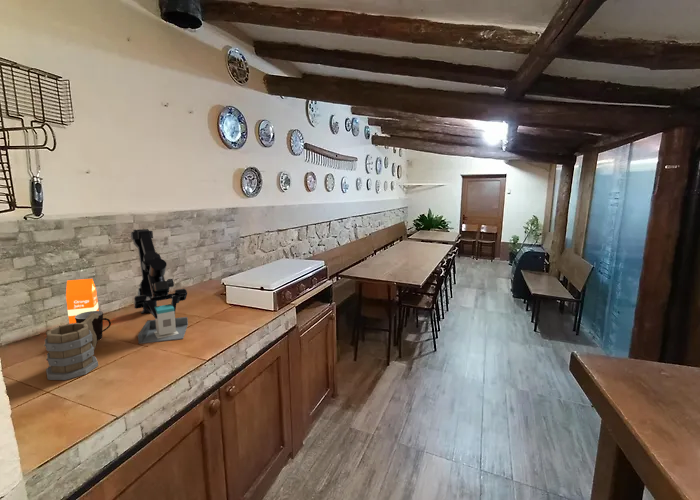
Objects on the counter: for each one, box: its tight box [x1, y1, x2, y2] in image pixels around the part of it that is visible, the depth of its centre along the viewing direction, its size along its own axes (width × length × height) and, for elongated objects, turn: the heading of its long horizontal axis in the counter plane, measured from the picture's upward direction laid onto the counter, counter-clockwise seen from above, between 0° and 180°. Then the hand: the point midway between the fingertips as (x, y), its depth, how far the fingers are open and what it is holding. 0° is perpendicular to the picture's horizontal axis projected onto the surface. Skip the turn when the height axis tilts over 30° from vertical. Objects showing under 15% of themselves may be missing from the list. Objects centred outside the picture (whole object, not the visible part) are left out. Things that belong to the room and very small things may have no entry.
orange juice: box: [65, 278, 100, 324], centre depth 146 cm, size 8×9×20 cm
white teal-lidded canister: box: [154, 303, 176, 336], centre depth 139 cm, size 6×6×10 cm
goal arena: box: [137, 316, 189, 345], centre depth 140 cm, size 15×15×4 cm
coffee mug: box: [75, 310, 112, 342], centre depth 132 cm, size 12×9×10 cm
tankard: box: [43, 313, 99, 381], centre depth 114 cm, size 20×13×15 cm, turn 179°
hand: (165, 316), depth 138 cm, fingers closed on white teal-lidded canister, 6 cm apart
